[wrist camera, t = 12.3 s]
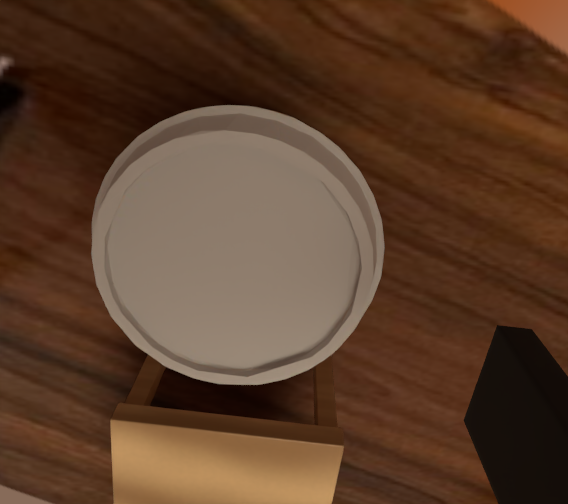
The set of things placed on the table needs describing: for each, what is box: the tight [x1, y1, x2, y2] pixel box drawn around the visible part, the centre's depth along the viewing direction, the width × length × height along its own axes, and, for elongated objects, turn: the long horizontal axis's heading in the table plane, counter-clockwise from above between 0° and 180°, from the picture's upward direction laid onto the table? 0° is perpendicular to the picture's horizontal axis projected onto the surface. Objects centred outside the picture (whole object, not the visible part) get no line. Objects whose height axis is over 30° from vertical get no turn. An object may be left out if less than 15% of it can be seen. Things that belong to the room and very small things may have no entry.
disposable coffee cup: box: [91, 105, 385, 385], centre depth 20 cm, size 10×10×12 cm
